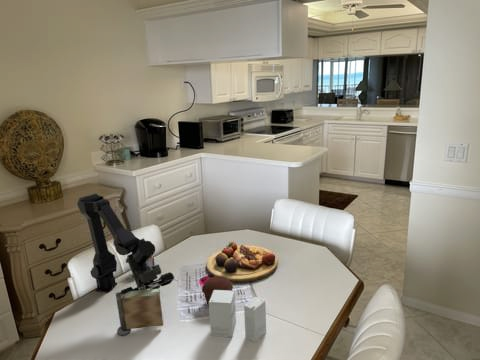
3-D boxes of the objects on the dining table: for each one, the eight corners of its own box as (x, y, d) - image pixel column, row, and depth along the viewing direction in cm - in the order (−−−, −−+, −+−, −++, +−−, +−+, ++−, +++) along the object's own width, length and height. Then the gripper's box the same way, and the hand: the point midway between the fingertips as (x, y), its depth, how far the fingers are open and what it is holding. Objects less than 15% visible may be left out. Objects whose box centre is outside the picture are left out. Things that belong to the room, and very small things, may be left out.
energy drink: (151, 270, 159) (148, 246, 156) (140, 270, 160) (137, 245, 157) (156, 264, 164) (153, 240, 161) (146, 264, 165) (142, 240, 162)
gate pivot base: (120, 338, 118) (119, 335, 117) (115, 331, 121) (115, 328, 121) (133, 332, 120) (132, 329, 120) (128, 325, 123) (128, 323, 123)
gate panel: (120, 330, 119) (114, 295, 116) (121, 326, 121) (116, 292, 117) (163, 326, 120) (159, 291, 117) (164, 322, 122) (159, 288, 118)
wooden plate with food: (290, 257, 165) (289, 241, 163) (254, 291, 140) (253, 272, 138) (232, 244, 183) (231, 229, 181) (191, 273, 157) (190, 255, 155)
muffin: (220, 290, 142) (219, 267, 139) (240, 301, 134) (238, 277, 131) (196, 304, 134) (194, 280, 131) (216, 316, 126) (214, 291, 123)
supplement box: (232, 337, 115) (230, 303, 112) (210, 336, 116) (207, 302, 113) (237, 322, 122) (235, 290, 119) (215, 321, 123) (213, 289, 120)
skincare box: (256, 327, 120) (254, 295, 116) (267, 332, 117) (266, 300, 113) (244, 337, 115) (242, 304, 112) (255, 343, 112) (254, 309, 109)
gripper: (116, 269, 115) (133, 315, 109) (169, 251, 126) (187, 292, 120) (111, 280, 123) (127, 324, 118) (162, 263, 134) (178, 302, 128)
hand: (156, 310), depth 121 cm, fingers closed
